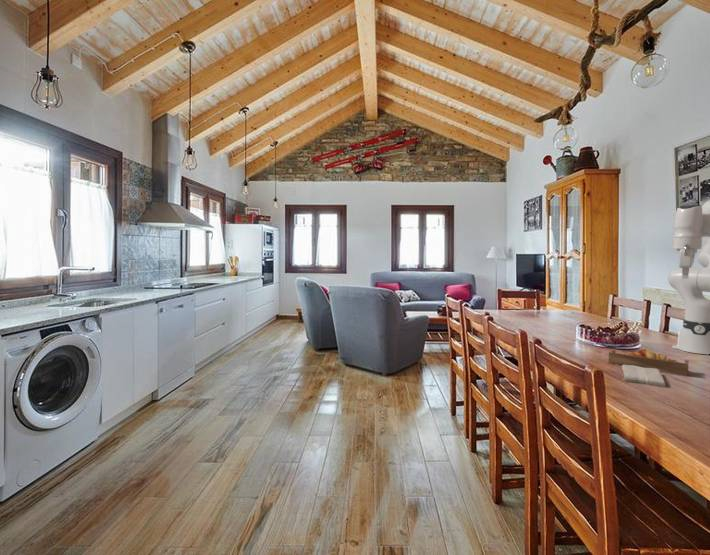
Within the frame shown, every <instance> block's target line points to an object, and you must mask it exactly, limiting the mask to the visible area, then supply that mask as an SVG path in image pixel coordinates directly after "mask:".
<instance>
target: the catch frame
mask: <svg viewBox="0 0 710 555" xmlns="http://www.w3.org/2000/svg"><path fill="white" fill-rule="evenodd" d="M626 354H627V353H619V352H618V353H617V352H616V349H614V348H613V349H611V350H610V351H609V352H608V364H609V363H612V364H611V365H615V364H618V365H617V366H621V365H634V366H638V367H643V368H655V369H658V370H659V371H660V373H663V372H665V374H671V375H675V374H676V375H677V376H681V375H682V376H683V377H688V374H689V364H690V360H688V359H685V360H684V362H679V361H678V362H673V361H666V360H659V359H653V358H646V357H639V356H632V355H626Z"/></svg>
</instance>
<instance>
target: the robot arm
mask: <svg viewBox="0 0 710 555" xmlns="http://www.w3.org/2000/svg"><path fill="white" fill-rule="evenodd" d="M673 229H674V235H673V239H672V240H673V241H672V249H673V250H676V254H679V259H678V267H677V268H674V269H673V270H672V269H671V270H672V271H670V272H669V274H668V277H667V280H668V284H669V286H671V288H673V289H674V290H675V291H677V293H678V294H679V295H680V296H681V298H682V300H683V304H684V319H683V322H682V327H683V328H682V329H681V330H679V331H678V333H677V343H675V344H673V345H672V346H671V348H672V349H677V350H679V351H684V352H688V353H693V354H699V355H709V354H710V300H709V299H708V298H706V297H705V296H704V293H706V292H707V293H710V199H708V200H707V201H706V202H704V204H702V205H700V204H688V205H681V206H679V207H677V208H676V212H675V217H674V225H673ZM703 238H707V240H706V241H705V243H704V244H702V243H703ZM702 245H703V246H702ZM698 250H700V252H699V254H698V256H697V262H698V263H699V264H700V265H701V266H702V267H693V265H694V263H695V256H696V254H697V253H698ZM703 292H704V293H703Z"/></svg>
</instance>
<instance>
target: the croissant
mask: <svg viewBox="0 0 710 555" xmlns="http://www.w3.org/2000/svg"><path fill="white" fill-rule="evenodd" d="M625 354H626V355H632V356H639V357H646V358H653V359H659V360H666V361H673V362H679V361H678V360H676V359H672V358H670V357H668V356H667V355H665V354H660V353H658V354H657V353H655V351H652V350H649V349H643V348H641V349H640V350H639V351H632V352H631V353H625Z"/></svg>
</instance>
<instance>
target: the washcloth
mask: <svg viewBox="0 0 710 555" xmlns="http://www.w3.org/2000/svg"><path fill="white" fill-rule="evenodd" d="M621 370H623V372H624V373H623V374H624V378H623V381H624V382H627V381H629V382H628V383H634V382H635V383H636V384H641V383H643V385H647V384H649V385H648V386H654V385H655V387H661V386H662V387H663V388H664V387H667V386H666V381H665V379H664V377H663V375H662V372H660V371H659V370H658V369H655V368H643V367H638V366H634V365H622V366H621ZM623 374H622V375H623Z"/></svg>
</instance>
